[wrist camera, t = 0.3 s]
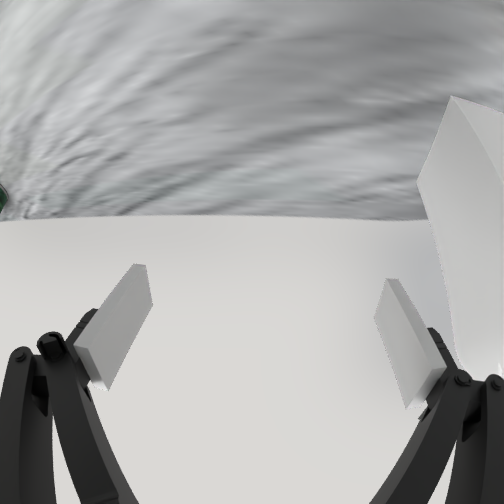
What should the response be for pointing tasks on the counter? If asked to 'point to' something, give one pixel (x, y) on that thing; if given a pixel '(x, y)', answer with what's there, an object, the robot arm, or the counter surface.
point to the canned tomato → (2, 197)
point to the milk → (470, 228)
